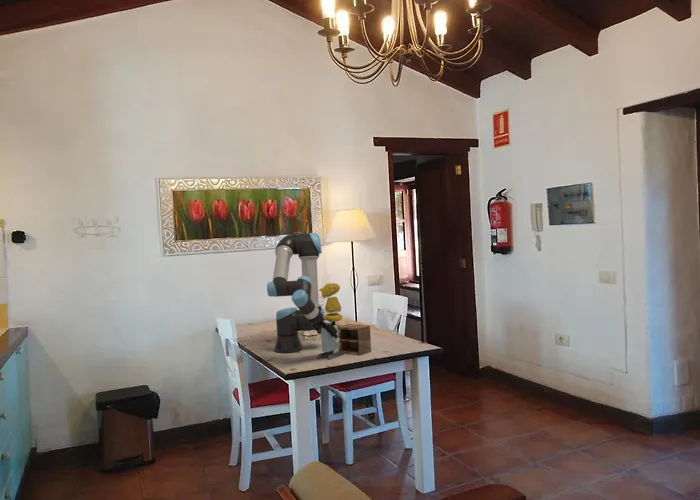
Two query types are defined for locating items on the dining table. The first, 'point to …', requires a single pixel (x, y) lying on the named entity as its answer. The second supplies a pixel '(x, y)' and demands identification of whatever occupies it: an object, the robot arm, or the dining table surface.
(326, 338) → the grey rectangular block
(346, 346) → the cabinet
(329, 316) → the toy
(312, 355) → the dining table surface
